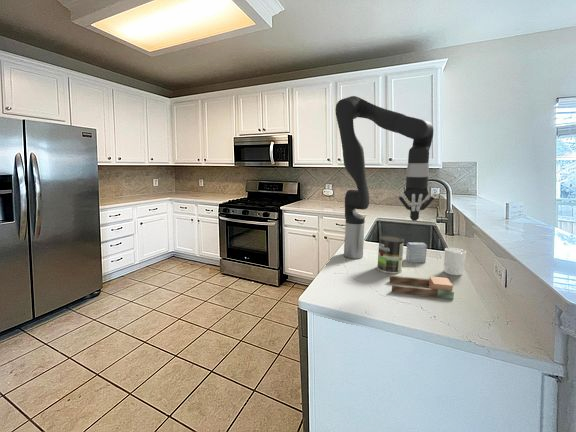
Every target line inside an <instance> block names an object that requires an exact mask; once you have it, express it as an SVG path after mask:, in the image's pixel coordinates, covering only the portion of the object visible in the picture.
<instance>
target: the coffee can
mask: <svg viewBox="0 0 576 432" xmlns="http://www.w3.org/2000/svg"><path fill="white" fill-rule="evenodd" d="M404 243H405V239H404V238H403V237H401V236H395V235H381V236H378V251H377V252H378V255H377V265H376V266H377V267H376V269H377V270H378V272H381V273H386V274H393V275H394V274H400V273H402V266H403V254H404Z"/></svg>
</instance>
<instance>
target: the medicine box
mask: <svg viewBox="0 0 576 432" xmlns="http://www.w3.org/2000/svg"><path fill="white" fill-rule="evenodd" d="M427 250H428V244H426V243H425V242H408V241H407V243H406V251H405V254H406V255H405V259H406V261H407V262H408V263H426V262H427V261H426V260H427V252H428V251H427Z"/></svg>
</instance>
